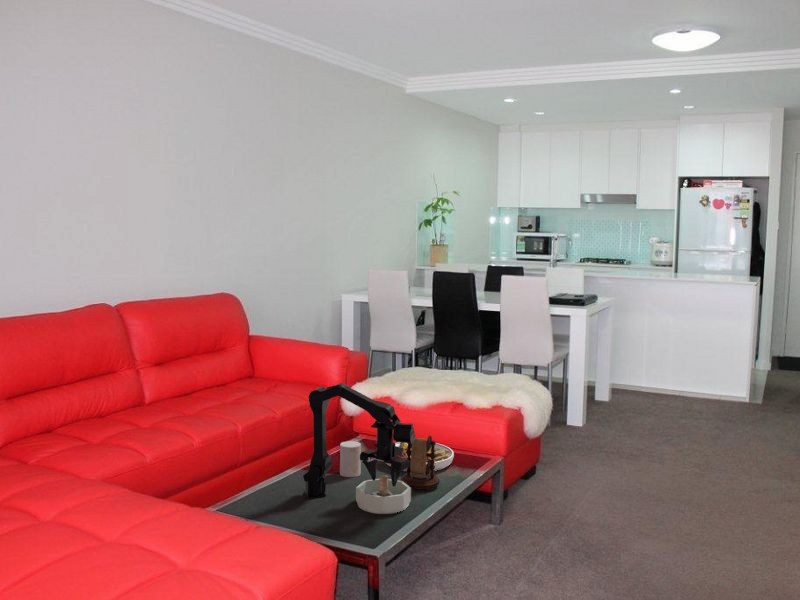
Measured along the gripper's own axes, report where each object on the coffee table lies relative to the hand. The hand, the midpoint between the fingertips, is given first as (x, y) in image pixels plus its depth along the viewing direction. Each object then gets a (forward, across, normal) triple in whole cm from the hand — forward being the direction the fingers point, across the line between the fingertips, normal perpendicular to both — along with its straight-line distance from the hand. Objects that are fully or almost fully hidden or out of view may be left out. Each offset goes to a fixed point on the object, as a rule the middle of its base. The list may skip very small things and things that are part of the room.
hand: (383, 483), depth 267 cm
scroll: (+8, +1, -24) cm, 25 cm away
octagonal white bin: (+8, 0, 0) cm, 8 cm away
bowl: (+8, +18, -45) cm, 49 cm away
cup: (+8, +30, -16) cm, 35 cm away
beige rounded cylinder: (+7, 0, 0) cm, 7 cm away
